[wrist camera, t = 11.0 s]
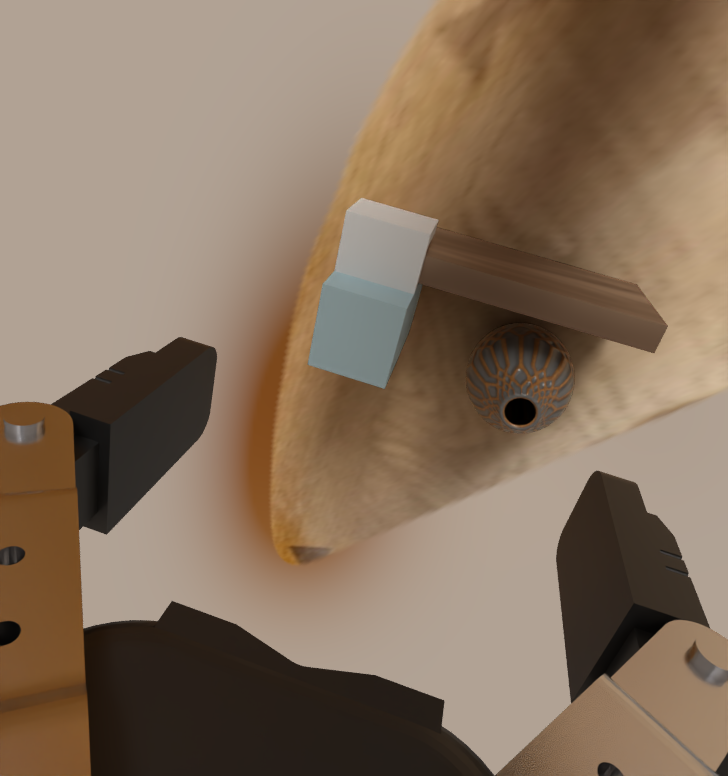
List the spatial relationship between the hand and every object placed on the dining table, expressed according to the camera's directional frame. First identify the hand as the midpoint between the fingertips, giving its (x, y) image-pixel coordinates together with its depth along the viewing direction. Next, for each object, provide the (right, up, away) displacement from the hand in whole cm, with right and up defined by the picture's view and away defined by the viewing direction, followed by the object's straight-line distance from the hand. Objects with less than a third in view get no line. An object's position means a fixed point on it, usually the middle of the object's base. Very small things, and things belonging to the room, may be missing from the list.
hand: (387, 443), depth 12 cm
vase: (+11, +3, +30) cm, 32 cm away
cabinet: (+1, +9, +26) cm, 27 cm away
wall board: (+9, +10, +27) cm, 30 cm away
